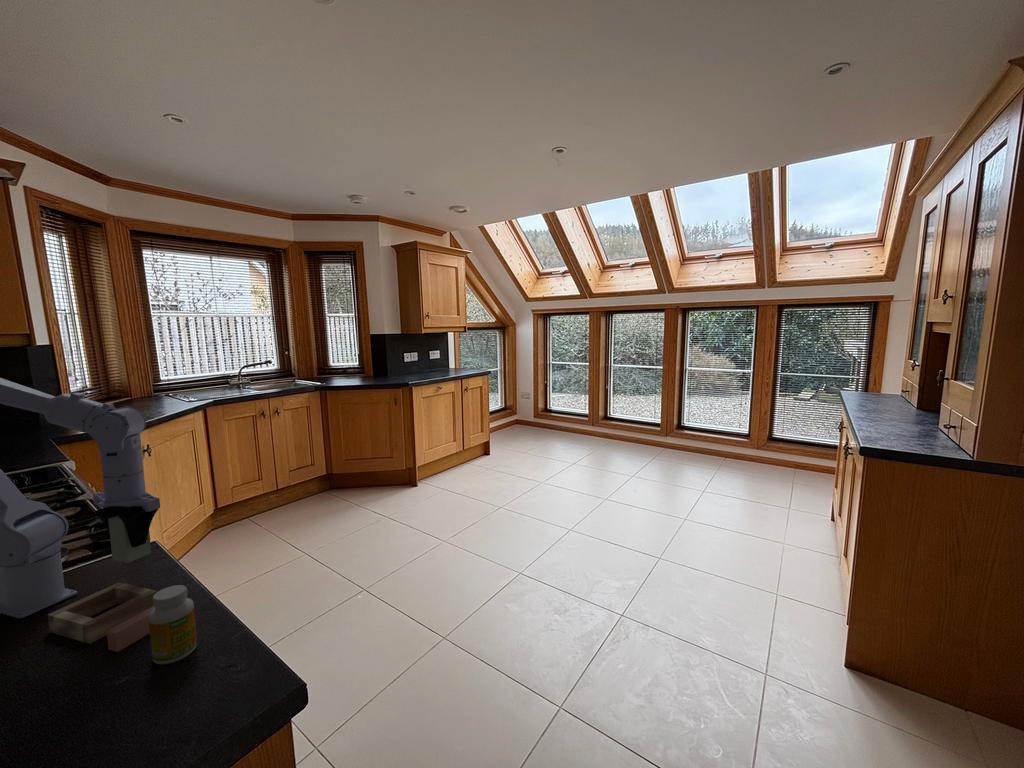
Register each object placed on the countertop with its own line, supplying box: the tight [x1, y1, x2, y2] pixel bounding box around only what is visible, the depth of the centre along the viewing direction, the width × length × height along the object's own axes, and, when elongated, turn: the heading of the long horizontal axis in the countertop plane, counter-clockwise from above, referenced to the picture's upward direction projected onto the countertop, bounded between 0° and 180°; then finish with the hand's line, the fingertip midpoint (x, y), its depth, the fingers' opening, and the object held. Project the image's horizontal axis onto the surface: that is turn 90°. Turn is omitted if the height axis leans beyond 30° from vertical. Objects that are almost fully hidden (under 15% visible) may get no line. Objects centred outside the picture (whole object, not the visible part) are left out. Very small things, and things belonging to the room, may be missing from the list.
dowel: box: [108, 516, 152, 564], centre depth 82 cm, size 4×4×8 cm
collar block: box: [47, 581, 158, 645], centre depth 74 cm, size 10×10×3 cm
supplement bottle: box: [149, 584, 198, 665], centre depth 65 cm, size 5×5×10 cm
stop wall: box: [106, 606, 155, 653], centre depth 71 cm, size 2×10×3 cm, turn 163°
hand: (130, 543), depth 82 cm, fingers closed on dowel, 4 cm apart
